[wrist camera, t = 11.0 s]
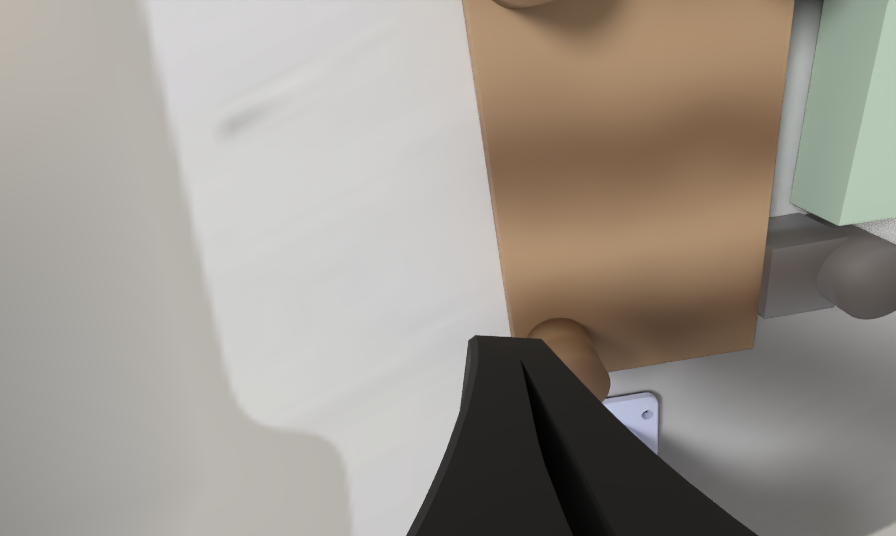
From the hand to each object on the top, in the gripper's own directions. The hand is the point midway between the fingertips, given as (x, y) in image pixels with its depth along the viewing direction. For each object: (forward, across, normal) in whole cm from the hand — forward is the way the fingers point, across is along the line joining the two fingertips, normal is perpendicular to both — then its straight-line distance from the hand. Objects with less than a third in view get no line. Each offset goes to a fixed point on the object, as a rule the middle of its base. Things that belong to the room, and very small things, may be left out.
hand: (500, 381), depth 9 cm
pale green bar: (+10, -12, -6) cm, 17 cm away
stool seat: (+10, -7, -3) cm, 13 cm away
